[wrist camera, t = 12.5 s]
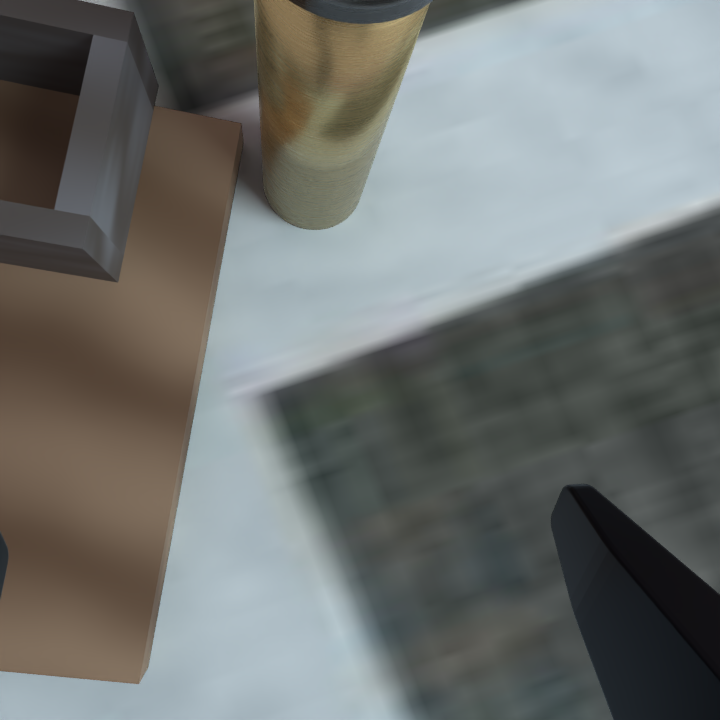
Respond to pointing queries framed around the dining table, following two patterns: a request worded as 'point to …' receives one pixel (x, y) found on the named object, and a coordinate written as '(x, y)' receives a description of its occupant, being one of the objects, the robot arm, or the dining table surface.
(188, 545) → the dining table surface
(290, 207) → the brass peg
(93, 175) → the board with square socket
